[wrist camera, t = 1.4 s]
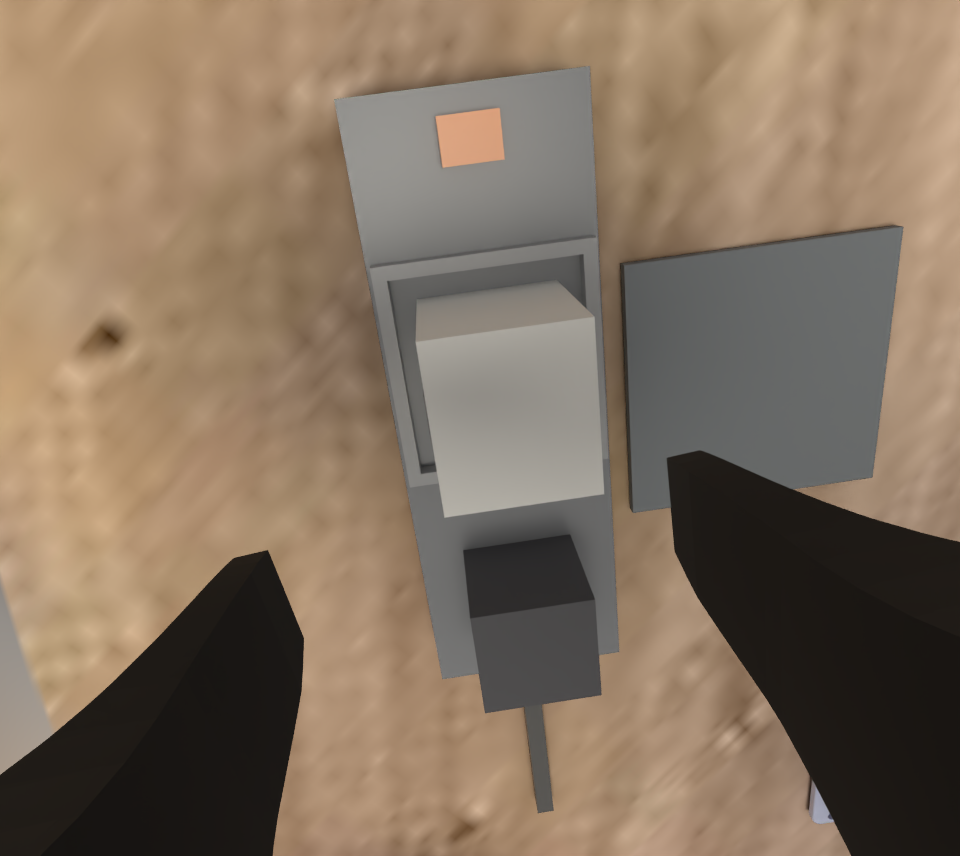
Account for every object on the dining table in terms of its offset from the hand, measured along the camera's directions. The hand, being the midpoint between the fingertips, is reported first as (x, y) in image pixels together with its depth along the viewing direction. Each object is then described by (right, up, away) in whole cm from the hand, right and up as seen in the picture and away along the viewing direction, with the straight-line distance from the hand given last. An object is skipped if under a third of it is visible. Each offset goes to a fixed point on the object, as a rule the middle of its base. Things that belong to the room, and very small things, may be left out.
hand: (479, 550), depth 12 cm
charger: (0, +4, +8) cm, 9 cm away
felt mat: (+9, +4, +11) cm, 15 cm away
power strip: (+1, -1, +13) cm, 13 cm away
